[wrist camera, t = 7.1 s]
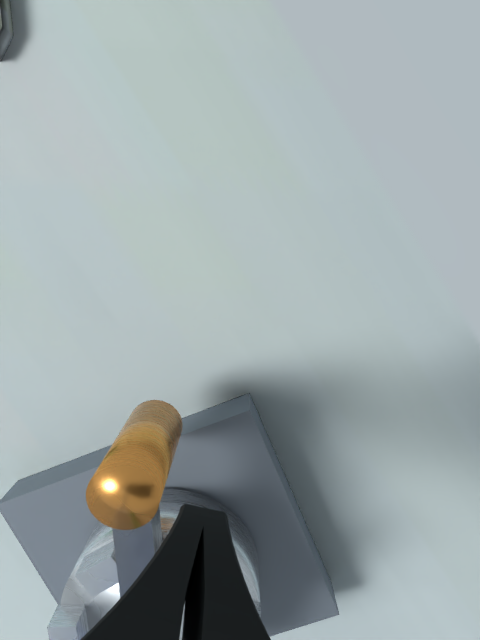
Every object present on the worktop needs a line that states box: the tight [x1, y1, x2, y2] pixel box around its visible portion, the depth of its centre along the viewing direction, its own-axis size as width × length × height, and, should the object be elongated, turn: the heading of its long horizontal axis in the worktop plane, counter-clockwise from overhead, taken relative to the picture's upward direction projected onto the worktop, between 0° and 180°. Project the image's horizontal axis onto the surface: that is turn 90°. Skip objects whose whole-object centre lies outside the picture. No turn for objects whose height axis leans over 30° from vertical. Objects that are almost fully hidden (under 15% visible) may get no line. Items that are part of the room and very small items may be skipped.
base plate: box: [0, 393, 339, 636], centre depth 22 cm, size 13×14×2 cm
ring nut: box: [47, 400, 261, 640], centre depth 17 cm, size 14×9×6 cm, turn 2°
